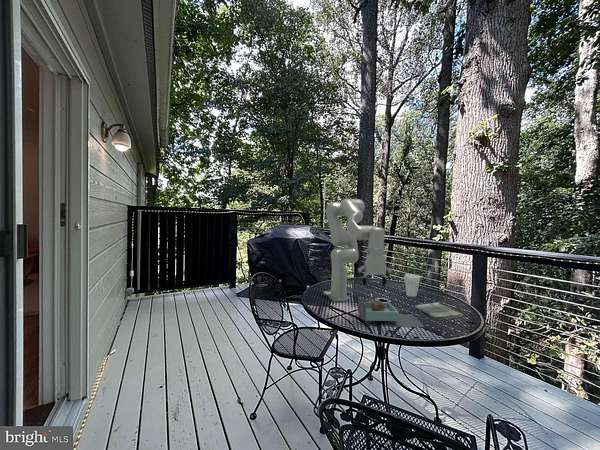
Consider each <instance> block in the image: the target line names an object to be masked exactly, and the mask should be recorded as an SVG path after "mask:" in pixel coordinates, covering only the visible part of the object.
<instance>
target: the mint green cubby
mask: <svg viewBox="0 0 600 450" xmlns="http://www.w3.org/2000/svg"><path fill="white" fill-rule="evenodd" d="M382 302H383V301H382ZM383 303H384V304H385V310H384V311H372V301H364V300H363V298H362V297H361V296H358V297H357V312H358V314H359V316H360V317H361V319H362V320H363V321H364V320H365V321H366V323H367V325H370V324H372V322H373V321H374V322H375V321H378V322H383V321H384V322H385V321H390V322H391V324H393V325H394V324H395V323H396V321H398V316H399V314H400V313H399V310H398V309H396V308H395V307H394V306H393V305H392V304H391V302H388V301H387V302H383Z"/></svg>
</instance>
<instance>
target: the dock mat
mask: <svg viewBox="0 0 600 450" xmlns="http://www.w3.org/2000/svg"><path fill="white" fill-rule="evenodd" d="M384 323H385V324H386V325H387V327H389V328H426V326H425V325H424V324H423V323H422V322H421V321H419V319H417V318H416V316H414V315H413V314H410V313H409V314H406V313H405V314H402V313H401V314H400V313H399V316H398V321H396V323H395V324H394V325H393V324H391V322H390V321H384Z"/></svg>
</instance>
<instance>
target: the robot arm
mask: <svg viewBox="0 0 600 450" xmlns="http://www.w3.org/2000/svg"><path fill="white" fill-rule="evenodd" d="M365 208H366V207H365V203H364V201H363V200H361V199H359V198H345V199H343V200H341V202H340V201H339V202H337V201H336V202H330V203H328V204H327V206H326V209H325V215H326V216H325V217H326V218H327V222H328V225H329V232H330V240H331V244H332V245H333V246H336V248H333V249H332V250H331V252H330V260H331V283H330V284H331V285H330V286H331V287H330V289H329V290H328V291H325V290H324V291H323V295H325V296H327V297H329V298H330V299H329V298H328V299H329V300H331V299H332V300H331V301H334V300H335V301H334V302H346V301H348V300H349V298H350V297H349V295H347V287H348V286H347V285H348V269H347V267H346V266H345V264H353V263H357V262H358V260H359V256H360V255H359V247H358V242H357V241H368V246H367V249H366V248H365V251H364V252H366V253H367V254H366V256H365V260H364V265H361V266H360V267H358V268H357V270H358V273H359V275H360V276H361V277H362V281H361V283H362V285H363V286H365V287H366V286H367V276H368V275H370V276H382V277H381V285H382V286H383V287H385V286H386V284H387V278H389V276H390V275H391V273H392V270H393V269H391V268H390V267H388V266H387V262H386V255H385V254H384V249H385V248H384V247H385V228H383V227H380V226H375V225H358V224H359V223H361V221H362V220H363V218H364V211H365ZM339 217H346V219H347V223H346V225H347V230H344V224H343V221H342V220H341V218H339ZM363 271H364V272H363Z"/></svg>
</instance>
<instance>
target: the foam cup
mask: <svg viewBox="0 0 600 450" xmlns="http://www.w3.org/2000/svg"><path fill="white" fill-rule="evenodd" d="M420 280H421V276H420V275H418V274H413V273H407V274H406V273H405V275H404V281H405V284H404V285H405V293H406V296H407V297H414V298H415V297H417V295H418V289H419V285H420Z"/></svg>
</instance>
